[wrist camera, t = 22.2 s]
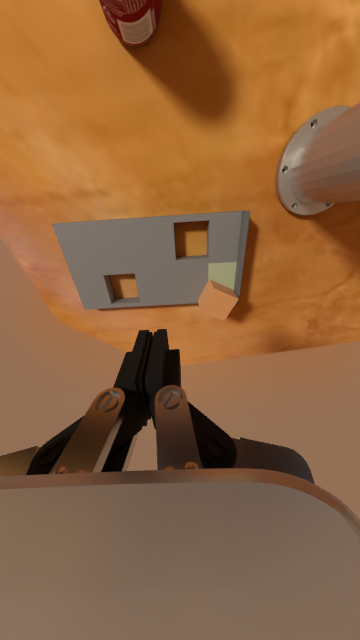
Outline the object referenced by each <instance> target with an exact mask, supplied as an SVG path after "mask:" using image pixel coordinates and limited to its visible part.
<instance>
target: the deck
mask: <svg viewBox="0 0 360 640" xmlns="http://www.w3.org/2000/svg"><path fill="white" fill-rule="evenodd" d="M249 218H250V211H232V212H218V213H203V214H188V215H173V216H158V217H144V218H129V219H114V220H99V221H85V222H70V223H56V224H52V225H53V228H54V231H55V233H56V236H57V238H58V241H59V244H60V246H61V249H62V252H63V254H64V257H65V259H66V262H67V265H68V267H69V270H70V273H71V275H72V278H73V280H74V283H75V286H76V288H77V291H78V293H79V296H80V299H81V301H82V304H83V307H84V309H85V310H87V309H104V308H122V307H139V306H157V305H174V304H192V303H198V299H199V297H200V295H201V294H202V292H203V290H204V288H205V286H206V284H207V283H208V281H209V279H211V280H213V281H215V282H218V283H220V284H222V285H224V286H226V287H229V288H231V289H232V290H233V292H234V293H235V294H236V296H237V297H238V299H239V297H240V289H241V281H242V273H243V265H244V257H245V249H246V241H247V233H248V225H249ZM206 220H207V255H202V256H186V257H176V250H175V235H174V223H176V222H191V221H206ZM134 273H135V278H136V284H137V289H138V294H139V297H137V298H120V299H115V296H114V293H113V289H112V285H111V282H110V278H109V275H118V274H134ZM236 304H239V300H238V301H237V303H236Z"/></svg>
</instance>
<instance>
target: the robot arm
mask: <svg viewBox="0 0 360 640" xmlns="http://www.w3.org/2000/svg"><path fill="white" fill-rule="evenodd" d="M282 169H283V170H284V171H283V172H282ZM276 187H277V193H278V197H279V200H280V201H281V203H282V205H283V206H284V207H285V208H286V209H287V210H288V211H290V212H291V213H294V214H297V215H313V214H317V213H320V212H322V211H324V210H327V209H328V208H330V207H331V206H333V205H334V204H336V203H341V202H356V201H360V103H358V104H357V105H355V106H353V107H352V108H350V107H348V106H335V107H330V108H327V109H325V110H323V111H321V112H319V113H317V114H316V115H314V116H313V117H311V118H310V119H309V120H308V121H306V122H305V123H304V124H303V125H302V126H301V127H300V128H299V129H298V130H297V131H296V132H295V133H294V135H293V136H292V138H291V139H290V141H289V142H288V144H287V146H286V148H285V149H284V151H283V153H282V156H281V159H280V162H279V165H278V170H277V176H276ZM292 205H293V207H292ZM180 369H181V368H180V352H179V349H174V350H169V345H168V337H167V330H166V329H158V330H157V332H154V335H153V334H152V332H149V330H140V331H139V333H138V336H137V339H136V342H135V345H134V348H133V351H132V352H127V353H126V354H125V357H124V360H123V363H122V365H121V368H120V371H119V373H118V376H117V379H116V381H115V384H114V387H113V388H109V389H106V390H105V391H103V392H101V393H100V394H99V395H97V397H96V398H95V399H94V401H93V402H92V404H91V406H90V407H89V409H88V411H87V412H86V414H85V415H84V416H83V417H82V418H80V419H79V420H77V421H76V422H74V423H73V424H72V425H70V426H69V427H68V428H66V429H65V430H63V431H62V432H60V433H59V434H58V435H56V436H55V437H53V438H52V439H51V440H49V441H48V442H47V443H46V444H44V445H43V446H42V447H40V448H39V447H38V446H35V447H31V448H28V449H24V450H20V451H17V452H13V453H10V454H6V455H2V456H0V640H360V519H359V518H358V517H357V516H356V515H355V514H354V513H353V512H352V510H351V509H350V508H349V507H348V506H346V504H344V503H343V502H342V501H341V500H340V499H338V498H337V497H335V496H334V495H332V494H331V493H330V492H328V491H326V490H324V489H322V488H321V487H319V486H317V485H315V483H314V480H313V477H312V474H311V471H310V468H309V466H308V464H307V462H306V461H305V460H304V458H303V457H302V456H301V455H300V454H299V453H297V452H296V451H295V450H292V449H290V448H287V447H283V446H278V445H274V444H269V443H264V442H259V441H255V440H249V439H245V438H240V439H235V438H231V437H230V436H229V435H228V434H227V433H225V432H224V431H223V430H222V429H221V428H219V427H218V426H217V425H216V424H215V423H213V422H212V421H211V420H210V419H209V418H207V417H206V416H205V415H204V414H203V413H201V412H200V411H199V410H198V409H197V408H195V407H194V406H193V405H192V404H190V403H189V402H188V401H187V397H186V394H185V391H184V390H183V389H182V388H181V370H180ZM151 416H152V419H153V424H154V428H155V429H156V443H157V467H158V470H150V471H127V468H128V465H129V462H130V458H131V455H132V452H133V449H134V446H135V443H136V440H137V435H138V434H137V433H138V432H139V431H140V430H141V429H142V426H147V420H148V419H151Z"/></svg>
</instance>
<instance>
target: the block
mask: <svg viewBox="0 0 360 640" xmlns="http://www.w3.org/2000/svg"><path fill="white" fill-rule="evenodd" d="M238 300H239V299H238V297H237V296H236V294H235V293H234V292H233V290H232V289H231V288H229V287H226V286H224V285H222V284H220V283H218V282H215V281H213V280H211V279H209V281H208V283H207V284H206V286H205V288H204V290H203V292H202V294H201V295H200V297H199V299H198V303H199V308H200V312H202V313H204V314H207V315H209V316H212V317H214V318H217V319H219V320H222V321H224V320H225V319H226V317H227V316H228V315H229V313H230V312H231V310H232V309H233V307H234V306H235V304H236V303H237V301H238Z"/></svg>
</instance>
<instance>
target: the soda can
mask: <svg viewBox="0 0 360 640" xmlns="http://www.w3.org/2000/svg"><path fill="white" fill-rule="evenodd" d="M99 1H100V4H101V7H102V9H103V12H104V15H105V17H106V20H107V22H108V24H109V26H110V28H111V30H112V31H113V33H114V34H115V35H116V36H117V38H118V39H119V40H120V41H122V42H123V43H125V44H126V45H128V46H132V47H138V46H142V45H144V44H145V43H147V42H148V41H149V40H150V39H151V37H152V36H153V34H154V32H155V30H156V28H157V26H158V22H159V19H160V14H161V5H162V0H99Z"/></svg>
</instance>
